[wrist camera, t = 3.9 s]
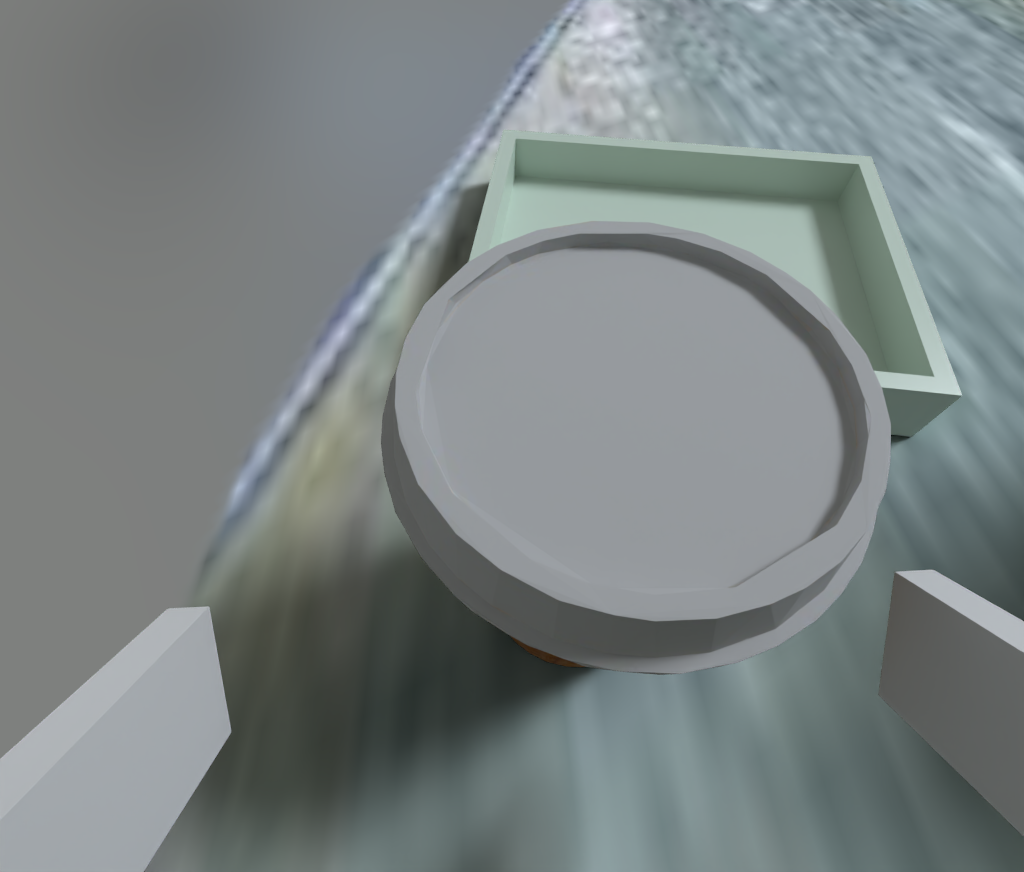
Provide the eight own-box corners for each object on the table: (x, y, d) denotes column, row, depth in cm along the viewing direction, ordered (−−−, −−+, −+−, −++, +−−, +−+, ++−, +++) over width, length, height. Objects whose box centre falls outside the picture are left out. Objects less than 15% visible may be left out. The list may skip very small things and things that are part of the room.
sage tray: (841, 206, 31) (871, 156, 29) (911, 436, 23) (962, 395, 20) (504, 179, 33) (503, 129, 30) (454, 386, 24) (447, 342, 22)
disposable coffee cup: (551, 424, 23) (582, 156, 13) (750, 563, 20) (1001, 352, 10) (389, 588, 19) (251, 395, 9) (600, 795, 16) (751, 848, 6)
